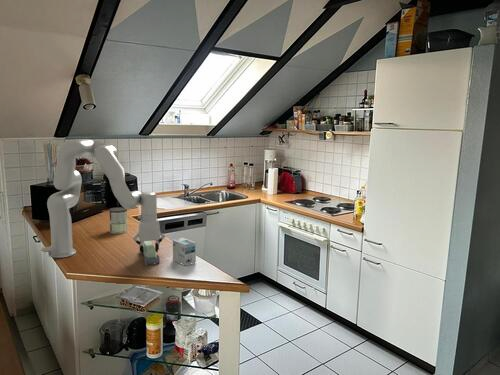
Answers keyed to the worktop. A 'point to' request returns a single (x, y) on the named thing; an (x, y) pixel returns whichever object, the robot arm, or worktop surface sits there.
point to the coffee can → (118, 220)
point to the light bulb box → (184, 251)
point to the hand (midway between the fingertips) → (149, 251)
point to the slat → (149, 249)
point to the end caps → (151, 259)
